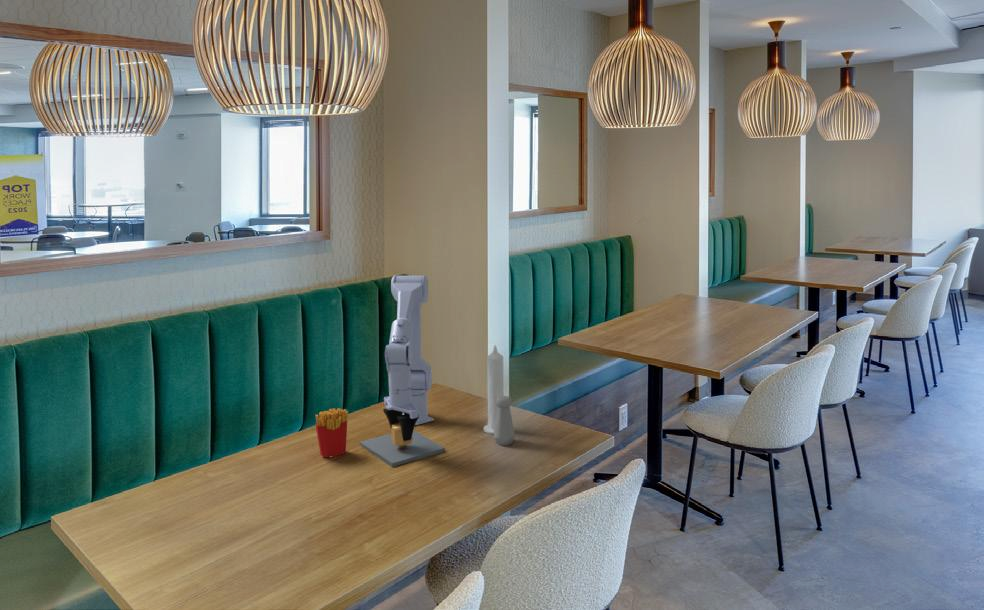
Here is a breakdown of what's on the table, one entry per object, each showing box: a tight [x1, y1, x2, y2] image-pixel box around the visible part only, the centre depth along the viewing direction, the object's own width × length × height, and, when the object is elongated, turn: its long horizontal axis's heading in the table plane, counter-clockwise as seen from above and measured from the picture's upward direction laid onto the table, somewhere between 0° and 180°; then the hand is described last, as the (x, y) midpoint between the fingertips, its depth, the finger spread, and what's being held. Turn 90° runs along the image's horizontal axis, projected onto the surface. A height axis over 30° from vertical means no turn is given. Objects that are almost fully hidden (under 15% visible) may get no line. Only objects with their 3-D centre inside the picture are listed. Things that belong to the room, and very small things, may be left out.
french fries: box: [314, 407, 349, 458], centre depth 195 cm, size 8×4×12 cm, turn 117°
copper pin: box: [398, 445, 407, 450], centre depth 197 cm, size 2×2×4 cm
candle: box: [483, 344, 505, 435], centre depth 210 cm, size 7×7×25 cm
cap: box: [390, 422, 413, 446], centre depth 197 cm, size 5×5×4 cm
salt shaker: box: [493, 395, 516, 446], centre depth 201 cm, size 6×6×13 cm
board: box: [358, 430, 446, 468], centre depth 200 cm, size 18×16×1 cm
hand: (401, 436), depth 197 cm, fingers closed on cap, 5 cm apart
